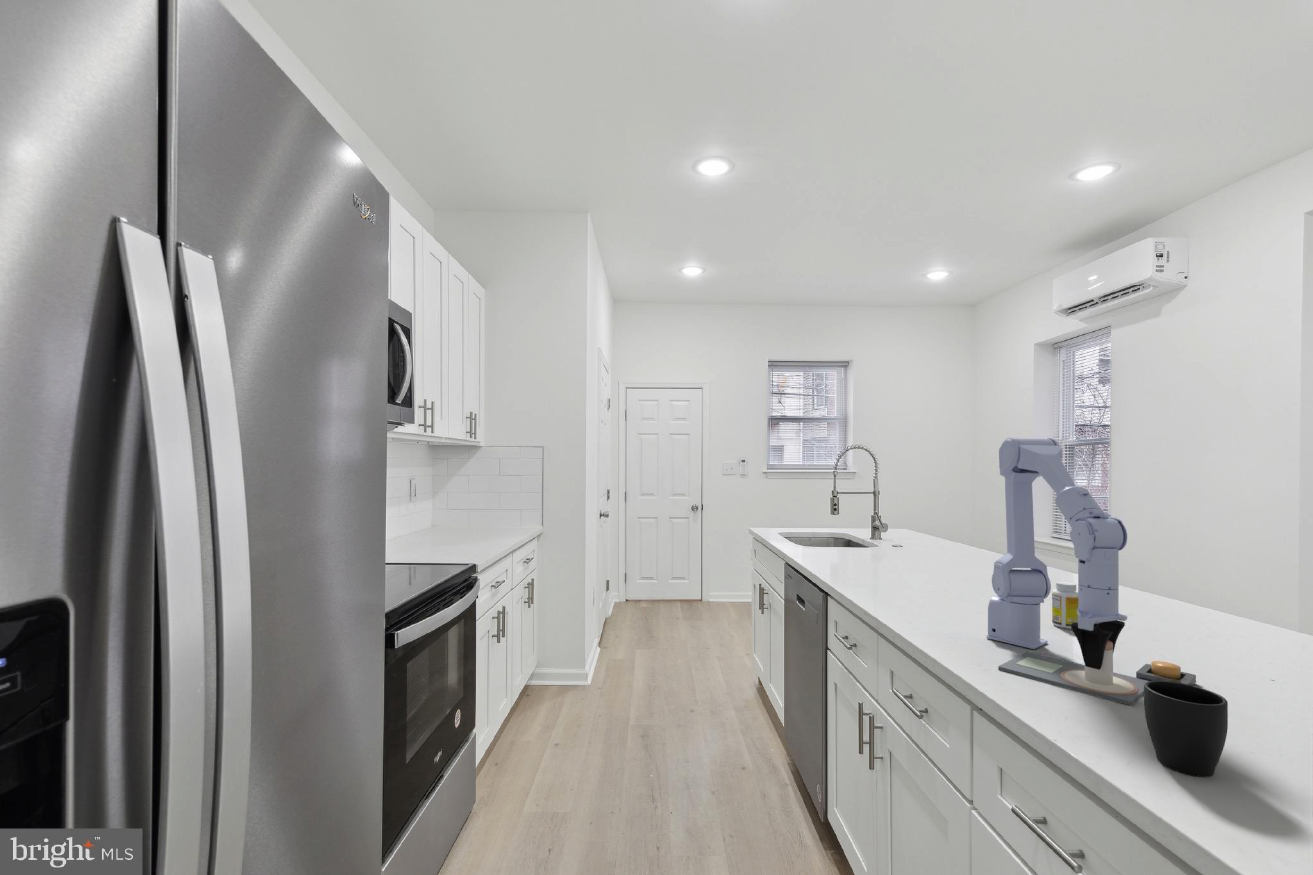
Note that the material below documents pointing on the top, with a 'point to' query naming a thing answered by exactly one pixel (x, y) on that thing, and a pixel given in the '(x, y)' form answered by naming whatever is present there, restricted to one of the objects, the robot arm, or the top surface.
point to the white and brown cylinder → (1102, 669)
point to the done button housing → (1147, 675)
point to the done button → (1166, 669)
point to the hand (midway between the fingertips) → (1098, 664)
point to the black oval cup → (1186, 726)
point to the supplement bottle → (1064, 604)
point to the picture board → (1074, 677)
